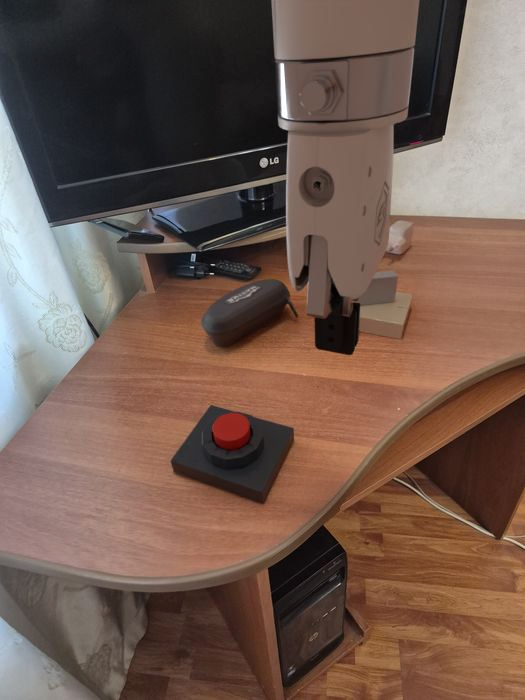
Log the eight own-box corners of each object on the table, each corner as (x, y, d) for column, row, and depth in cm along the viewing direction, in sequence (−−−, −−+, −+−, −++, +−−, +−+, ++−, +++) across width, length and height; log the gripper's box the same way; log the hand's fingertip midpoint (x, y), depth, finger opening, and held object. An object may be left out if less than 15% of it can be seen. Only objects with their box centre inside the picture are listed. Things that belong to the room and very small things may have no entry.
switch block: (294, 439, 56) (293, 418, 54) (263, 503, 49) (261, 482, 47) (212, 415, 61) (208, 394, 58) (173, 472, 54) (167, 450, 51)
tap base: (412, 303, 80) (414, 288, 78) (399, 345, 71) (401, 329, 69) (337, 292, 85) (338, 277, 83) (316, 329, 76) (316, 313, 74)
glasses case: (261, 291, 85) (269, 261, 79) (299, 326, 81) (311, 297, 75) (186, 331, 75) (189, 300, 69) (225, 373, 72) (233, 344, 66)
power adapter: (392, 266, 92) (396, 240, 88) (371, 261, 94) (373, 235, 90) (413, 247, 98) (417, 221, 95) (393, 242, 101) (396, 217, 97)
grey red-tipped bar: (390, 295, 77) (394, 268, 74) (394, 302, 75) (398, 274, 72) (339, 300, 77) (341, 274, 73) (343, 307, 75) (344, 280, 72)
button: (256, 428, 54) (255, 418, 52) (240, 455, 50) (239, 445, 49) (224, 418, 55) (223, 409, 54) (207, 444, 52) (205, 434, 51)
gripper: (380, 117, 18) (359, 420, 30) (428, 71, 29) (399, 307, 40) (224, 119, 21) (258, 395, 32) (319, 77, 32) (320, 296, 43)
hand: (336, 346), depth 36 cm, fingers closed
